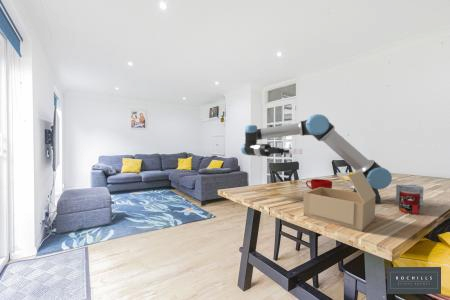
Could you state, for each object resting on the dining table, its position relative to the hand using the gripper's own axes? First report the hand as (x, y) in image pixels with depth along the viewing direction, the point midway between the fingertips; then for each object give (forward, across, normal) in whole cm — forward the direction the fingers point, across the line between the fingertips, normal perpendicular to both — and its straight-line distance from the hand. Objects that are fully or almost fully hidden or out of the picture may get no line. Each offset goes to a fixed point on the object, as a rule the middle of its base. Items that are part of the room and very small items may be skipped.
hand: (298, 151), depth 112 cm
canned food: (+42, -37, -30) cm, 64 cm away
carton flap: (+30, 0, -14) cm, 33 cm away
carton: (+21, 0, -30) cm, 37 cm away
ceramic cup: (-4, -36, -30) cm, 47 cm away
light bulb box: (+40, -59, -30) cm, 77 cm away
